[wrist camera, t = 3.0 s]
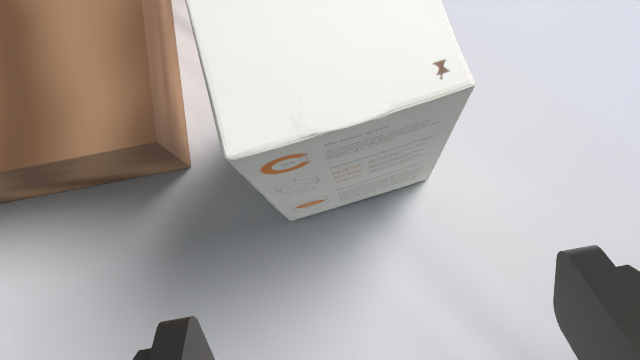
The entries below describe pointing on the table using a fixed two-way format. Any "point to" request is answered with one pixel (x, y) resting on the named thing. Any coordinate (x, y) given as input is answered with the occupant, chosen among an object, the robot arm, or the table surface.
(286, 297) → the table surface
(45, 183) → the podium
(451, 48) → the small box
